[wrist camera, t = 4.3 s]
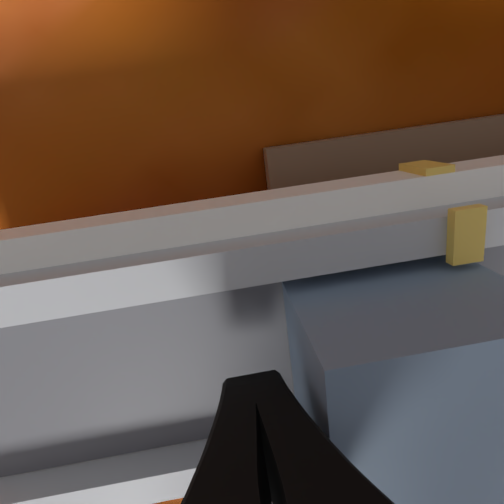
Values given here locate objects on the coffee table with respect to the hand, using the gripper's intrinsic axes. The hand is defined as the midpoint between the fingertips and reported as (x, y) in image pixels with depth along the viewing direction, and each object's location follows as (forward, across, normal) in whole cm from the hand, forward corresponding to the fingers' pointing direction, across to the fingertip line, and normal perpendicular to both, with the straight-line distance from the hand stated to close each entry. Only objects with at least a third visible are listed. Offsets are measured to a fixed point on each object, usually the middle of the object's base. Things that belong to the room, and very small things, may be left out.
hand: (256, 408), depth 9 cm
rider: (+2, -4, 0) cm, 4 cm away
